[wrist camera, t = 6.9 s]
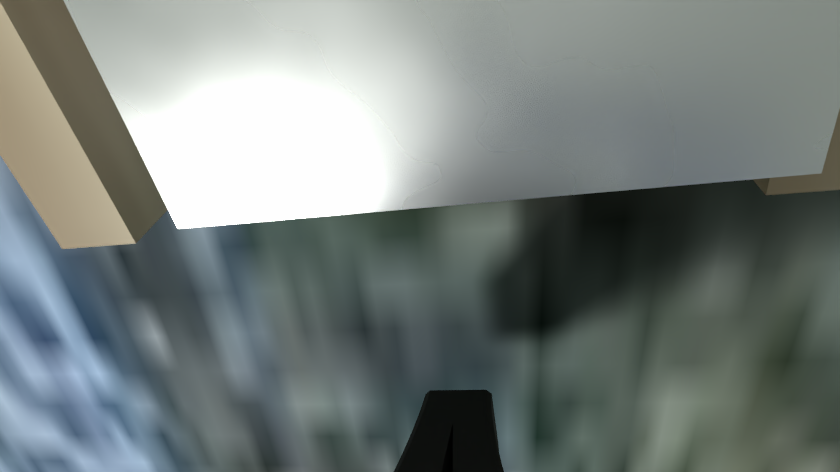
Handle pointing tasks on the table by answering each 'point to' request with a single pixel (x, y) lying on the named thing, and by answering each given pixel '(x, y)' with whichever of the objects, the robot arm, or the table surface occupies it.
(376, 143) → the aluminium block
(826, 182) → the can bracket
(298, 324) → the table surface
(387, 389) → the table surface
